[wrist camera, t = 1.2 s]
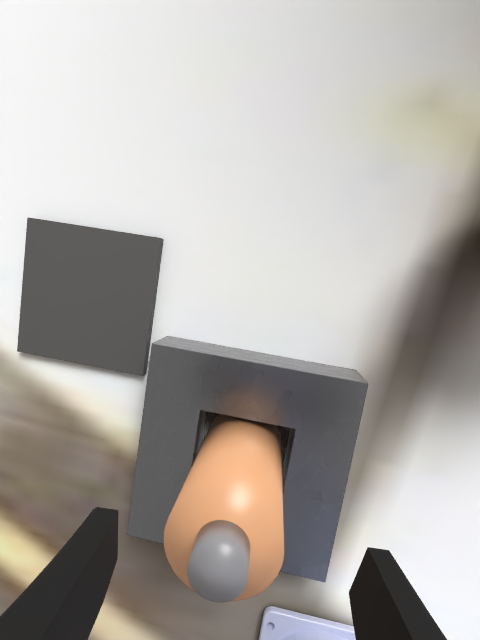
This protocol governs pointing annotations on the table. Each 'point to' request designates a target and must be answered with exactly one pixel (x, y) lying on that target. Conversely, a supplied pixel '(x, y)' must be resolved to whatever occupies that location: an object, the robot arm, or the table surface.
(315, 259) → the table surface
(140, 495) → the housing
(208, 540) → the tapered peach cylinder
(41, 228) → the mat
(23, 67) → the table surface
